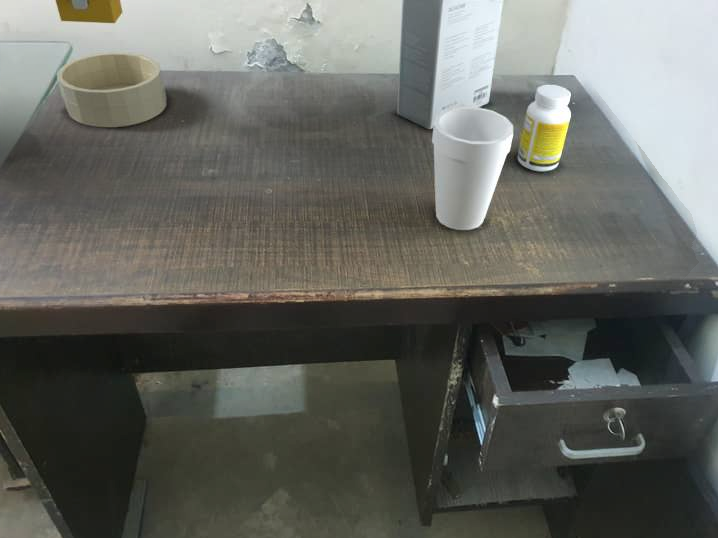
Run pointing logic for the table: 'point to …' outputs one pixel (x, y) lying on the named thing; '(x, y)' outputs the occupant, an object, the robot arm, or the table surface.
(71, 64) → the bowl
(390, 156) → the table surface
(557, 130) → the pill bottle
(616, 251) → the table surface
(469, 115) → the foam cup
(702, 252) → the table surface
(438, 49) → the hard drive box
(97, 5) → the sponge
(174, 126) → the table surface
